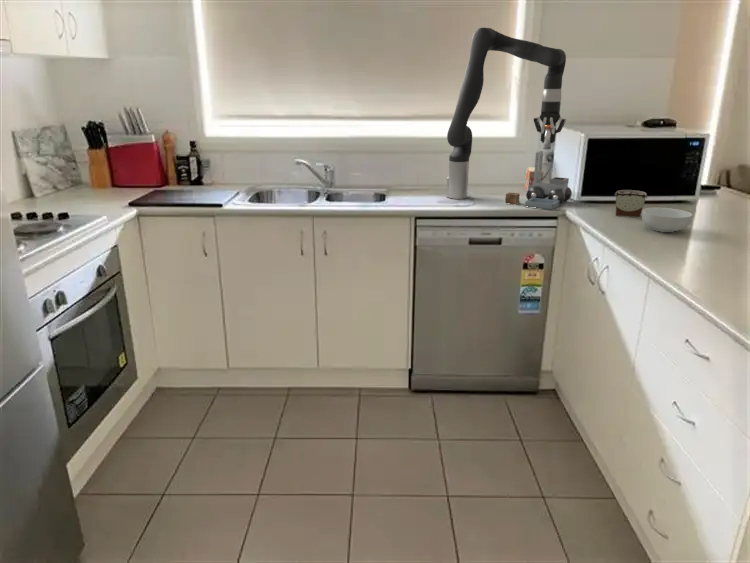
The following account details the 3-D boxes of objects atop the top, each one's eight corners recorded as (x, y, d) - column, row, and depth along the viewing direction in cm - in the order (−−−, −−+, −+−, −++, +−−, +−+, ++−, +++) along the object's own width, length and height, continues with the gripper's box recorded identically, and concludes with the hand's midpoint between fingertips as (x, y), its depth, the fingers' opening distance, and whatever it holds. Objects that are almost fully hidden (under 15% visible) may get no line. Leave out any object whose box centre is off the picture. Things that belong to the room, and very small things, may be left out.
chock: (505, 203, 263) (505, 193, 262) (508, 202, 266) (509, 192, 265) (515, 204, 261) (516, 194, 259) (519, 203, 264) (519, 193, 262)
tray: (525, 207, 256) (525, 201, 255) (532, 203, 263) (533, 197, 262) (552, 210, 249) (552, 204, 248) (559, 206, 256) (559, 200, 255)
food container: (643, 214, 240) (646, 190, 237) (644, 217, 235) (647, 193, 231) (611, 212, 244) (614, 189, 241) (611, 215, 239) (614, 191, 235)
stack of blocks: (523, 188, 297) (525, 164, 293) (536, 188, 296) (538, 164, 292) (527, 196, 277) (529, 170, 273) (541, 197, 276) (543, 171, 272)
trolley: (525, 202, 265) (529, 153, 257) (534, 197, 274) (538, 150, 267) (562, 206, 255) (567, 155, 248) (571, 201, 265) (576, 152, 257)
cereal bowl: (686, 238, 205) (690, 219, 203) (636, 232, 214) (639, 213, 211) (691, 228, 219) (694, 209, 217) (643, 222, 227) (646, 205, 225)
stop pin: (540, 149, 247) (542, 124, 244) (544, 148, 250) (546, 124, 247) (550, 149, 245) (552, 125, 241) (553, 148, 248) (555, 124, 244)
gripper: (531, 100, 242) (528, 142, 247) (565, 101, 234) (561, 144, 240) (538, 99, 247) (534, 141, 253) (571, 100, 240) (566, 142, 246)
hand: (547, 142), depth 247 cm, fingers closed on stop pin, 3 cm apart
